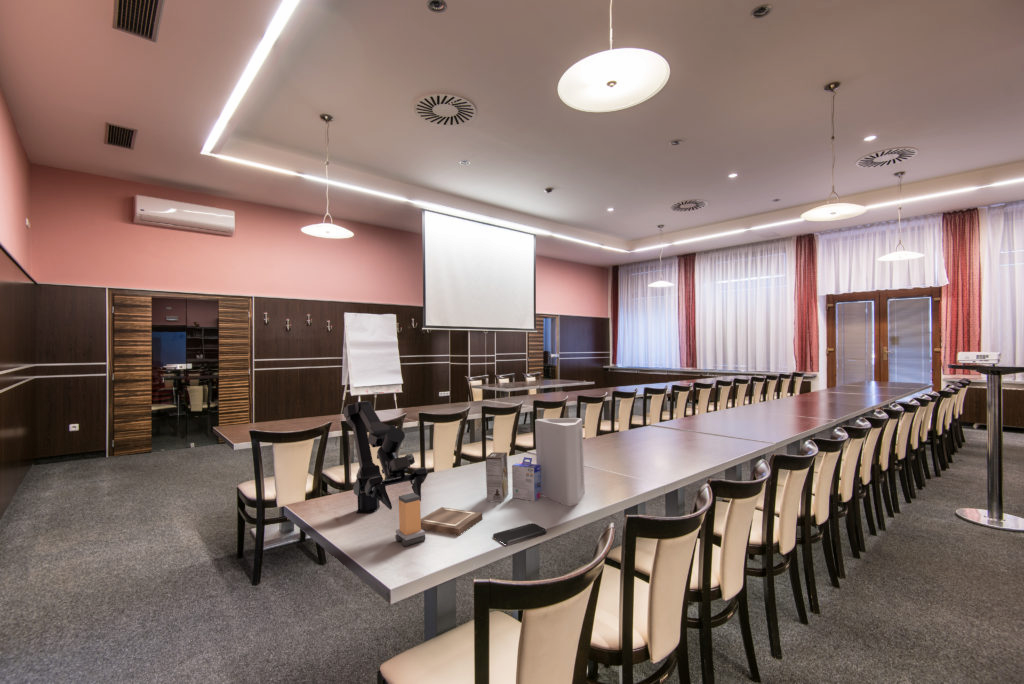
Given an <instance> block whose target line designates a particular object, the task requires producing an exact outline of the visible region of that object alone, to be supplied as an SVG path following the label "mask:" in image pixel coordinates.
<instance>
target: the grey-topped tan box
mask: <svg viewBox="0 0 1024 684" xmlns="http://www.w3.org/2000/svg"><path fill="white" fill-rule="evenodd" d="M421 516H422V515H421V502H420V496H418V495H416V494H415V493H414V492H410V493H407V494H402V495H398V517H399V520H398V521H399V525H398V526H399V528H397V529H395V537H394V539H395V541H396V542H401V545H402V547H403V546H404V547H407V546H410V545H411V546H412V545H414V544H418V543H420V542H423V541H425V540H426V530H424V529H421V519H422V517H421Z"/></svg>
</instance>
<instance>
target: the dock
mask: <svg viewBox="0 0 1024 684" xmlns="http://www.w3.org/2000/svg"><path fill="white" fill-rule="evenodd" d="M482 520H483V513H482V512H477V511H470V510H462V509H457V508H450V507H443V506H441V507H439V508H437V509H436V510H434V511H432V512H431V513H429V514H427V515H425V516H423V517H421V529H422V530H424V529H425V530H424V531H430V530H431V531H432V532H436V531H437V532H436V533H441V532H442V534H447V533H448V534H449V535H453V534H456V535H455V536H458V535H459V536H461V535H462V534H464V533H465V532H466V530H467V529H468V530H469V529H471V528H473V525H474V526H475V525H476V523H477V524H478V523H479V522H481V521H482ZM470 527H471V528H470ZM468 530H467V531H468ZM464 531H465V532H464ZM463 532H464V533H463ZM461 533H462V534H461ZM460 534H461V535H460Z"/></svg>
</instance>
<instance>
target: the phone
mask: <svg viewBox="0 0 1024 684" xmlns="http://www.w3.org/2000/svg"><path fill="white" fill-rule="evenodd" d="M546 534H548V532H547V529H546V528H544V527H542V526H540V525H539V524H537V523H533V522H532V523H528V524H523V525H521V526H517V527H516V526H515V527H513V528H508V529H505V530H502V531H498V532H495V533H493V534H492V538H493V537H494V538H496V539H497V540H499V541H501V542H503V543H504V544H506V545H505V546H510V545H514V544H516V543H520V542H524V541H527V540H529V539H533V538H537V537H540V536H543V535H546ZM494 538H493V539H494ZM496 539H495V540H496ZM499 541H498V542H499Z"/></svg>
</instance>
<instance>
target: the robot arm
mask: <svg viewBox="0 0 1024 684" xmlns="http://www.w3.org/2000/svg"><path fill="white" fill-rule="evenodd" d="M343 416H344V418H345V421H346V424H347V425H349V427H350V428H351V429H352V432H353V439H354V443H355V450H356V454H357V455H356V456H357V461H358V465H359V468H358V470H357V473H356V479H355V482H354V485H353V488H352V491H353V494H354V495H355V496H357V510H356V511H355V513H356V514H373V513H375V512H376V511H377V510H379V509H380V508H381V504H380V502H381V503H382V504H383V505H384V506H386V508H388V510H392V509H393V505H392V503H391V500H390V499H391V498H390V497H389V495H388V492H387V488H386V487H388V486H393V485H397V484H401V483H408V482H409V483H410V484H411V489H412V491H413V492H412V493H415V494H416V495H418V496H420V503H421V501H422V484H423V483H424V482H425V480H426V479H427V477H428V474H429V472H428V470H427V468H426V467H424V466H422V467H418V468H417V467H416V468H413V470H412V472H411V473H409V474H406V473H407V472H408V468H410V467H411V466H412V465H414V464H415V462H416V461H415V457H414V455H413V453H407V454H406V455H405V456H400V457H399V455H398V453H397V452H398V451H400V449H401V447H402V444H403V442H404V440H405V438H406V434H405V431H403V430H402V429H400V428H398V427H396V425H395V424H394V425H392V424H391V425H388V424H386V423H384V422H382V421H381V419H380V418H379V415H378V414H377V413H376V411H375V409H374V407H373V404H372V401H369V400H363V401H362V400H361V401H357V402H355V403H351V404H349V403H348V404H347V405H345V407H344V408H343ZM371 447H372V448H373V449H374V448H378V449H377V452H376V459H377V460H379V462H380V465H381V468H382V469H380V466H379V465H378V464H375V462H374V460H373V456H372V451H371ZM382 474H384V477H385V479H384V478H383V475H382Z"/></svg>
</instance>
